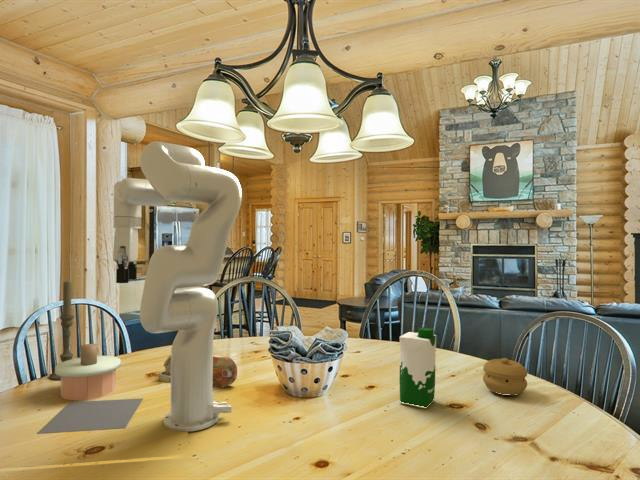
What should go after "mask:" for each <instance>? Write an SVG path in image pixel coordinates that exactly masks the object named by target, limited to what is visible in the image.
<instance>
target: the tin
mask: <svg viewBox="0 0 640 480" xmlns="http://www.w3.org/2000/svg"><path fill="white" fill-rule="evenodd" d="M237 377H238V367H237V364H236V363H235V361H234V360H233V358H231V357H228V356H222V355H216V354H213V386H215V387H220V388H225V387H228V386H229V385H230V386H231V385H233V384H234V382H235V381H236V380H237Z"/></svg>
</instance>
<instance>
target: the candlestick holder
mask: <svg viewBox="0 0 640 480" xmlns="http://www.w3.org/2000/svg"><path fill="white" fill-rule="evenodd" d="M65 280H66V281H63V284H62V285H63V286H62V287H63V291H62V294H63V296H62V297H63V298H62V299H63V301H62V304H63V305H62V315H61V316H59V319H60V320H61V322H60V326H61V327H63V332H62V337H63V351H62V353H61V354H60V355H59V358H60V361H61V363H62V362H64V361H67V360H71V359H73V356H74V354H73V353H72V352H71V351H70V345H71V344H70V342H71V341H70V340H71V339H70V337H71V336H72V335H71V329H70V328H71V326H73V324H74V321H73V319H74V318H75V316H74V314H73V315H72V281H71V280H69V281H68V279H65ZM48 378H49V380H52V381H61V376H59V375H56V374H55V371H53V372H52V373H50V374H49V376H48Z"/></svg>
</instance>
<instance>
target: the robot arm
mask: <svg viewBox="0 0 640 480" xmlns="http://www.w3.org/2000/svg"><path fill="white" fill-rule="evenodd" d="M139 166H140V169H141V172H142V174H143V175H144V177H145V178H146V179H145V178H135V177H134V178H133V177H125V178H123V179H122V180H120V181H116V182H115V183H114V185H113V229H115V230H114V238H113V251H112V260H113V262H115V263H116V266H115V267H116V270H115V272H116V273H115V275H116V277H115V282H116V284H128V283H129V281H136V280H137V277H138V273H137V272H138V271H137V269H138V267H137V266H138V263H137V260H139V259H138V258H139V231H138V230H141V229H142V206H143V207H145V206H146V207H161V208H163V207H165V206H166V207H167V206H169V205H170V204H172V203H183V204H184V203H185V204H186V203H188V204H196V205H197V204H198V205H199V204H201V205H202V204H203V205H207V207H206V208H205V209H204V210H203V211H202V212H200V214H198V216H197V217H196V218H195V220H194V221H193V222H192V225H191V227H190V232H189V237H188V240H187V242H186V243H185V244H170V245H168V244H167V245H163V246H159V247H158V248H156V249H155V251H154V252H153V253H152V255H151V257H150V259H149V261H148V266H147V269H146V275H145V281H144V285H143V290H142V295H141V299H140V305H139V306H140V307H139V320H140V324H141V326H142V328H143V329H144V330H145V331H146V332H148V333H151V334H162V333H163V334H164V333H168V332H176V331H177V333H176V335H175V337H174V340H173V342H172V344H171V352H170V353H171V354H170V355H171V382H170V411H169V412H168V413H166V414H165V415H164V417H163V419H162V420H163V421H162V424H163V425H164V427H166V428H167V429H170V430H173V431H180V432H185V431H187V432H189V433H190V432H197V431H201V430H202V431H203V430H205V429H207V428H210V427H212V426H213V425H215V424H216V423H217V422H218V421H219V419H220V414H231V413H232V403H231V404H227V403H228V402H227V401H222V402H218V401H217V400H215V396H213V390H214V389H213V386H214V385H213V355H214V339H215V338H214V336H215V328H216V322H217V317H218V311H219V302H218V298H217V296H216V294H215V293H214V292H213V290H211V289H210V288H207V287H206V286H209V285H210V286H211V285H213V284H214V283H216V282H217V280H218V279H219V278H220V274H221V271H222V267H223V263H224V259H225V254H226V251H227V247H228V242H229V237H230V234H231V231H232V230H233V229H232V228H233V226H234V224H235V221H236V220H237V217H238V215H239V212H240V209H241V205H242V199H243V198H242V197H243V194H242V193H243V191H242V187H241V184H240V183H241V182H239V181H240V180H239V179H238V178H237V176H235V174H233V173H232V172H230V171H227V170H224V169H221V168H218V167H212V166H206V165H205V159H204V157H203V155H202V154H201V153H200V152H199V151H198V150H196V149H194V148H193V147H190V146H185V145H180V144H177V143H176V144H175V143H170V142H169V143H168V142H165V141H158V140H156V141H151V142H149V143H148V144H146V146H144V147H143V149H142V151H141V153H140V158H139Z"/></svg>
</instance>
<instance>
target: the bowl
mask: <svg viewBox="0 0 640 480" xmlns="http://www.w3.org/2000/svg"><path fill="white" fill-rule="evenodd" d="M116 377H117V369H115V370H113V371H110V372H107V373H103V374H99V375H93V376H86V377H63V376H61V380H60V396H61V398H62V399H64V400H69V401H84V400H85V401H86V400H87V401H88V400H92V399H96V398H102V397H103V396H106V395H108V394H112V393H113V392H114V391H115V389H116V388H117V386H116V383H117V378H116Z"/></svg>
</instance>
